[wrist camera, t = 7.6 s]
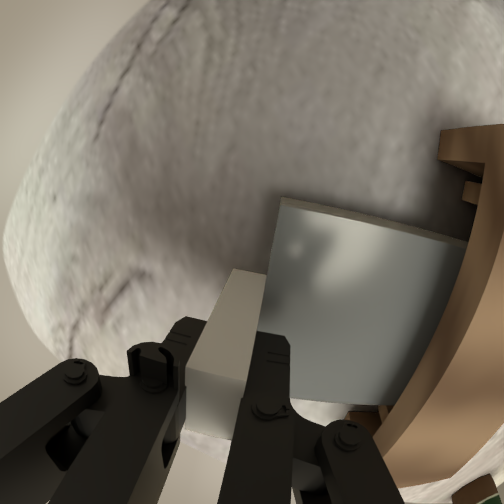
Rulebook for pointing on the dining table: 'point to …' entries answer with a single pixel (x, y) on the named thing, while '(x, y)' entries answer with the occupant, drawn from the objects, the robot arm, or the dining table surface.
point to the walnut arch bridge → (456, 339)
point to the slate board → (355, 300)
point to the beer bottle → (478, 492)
